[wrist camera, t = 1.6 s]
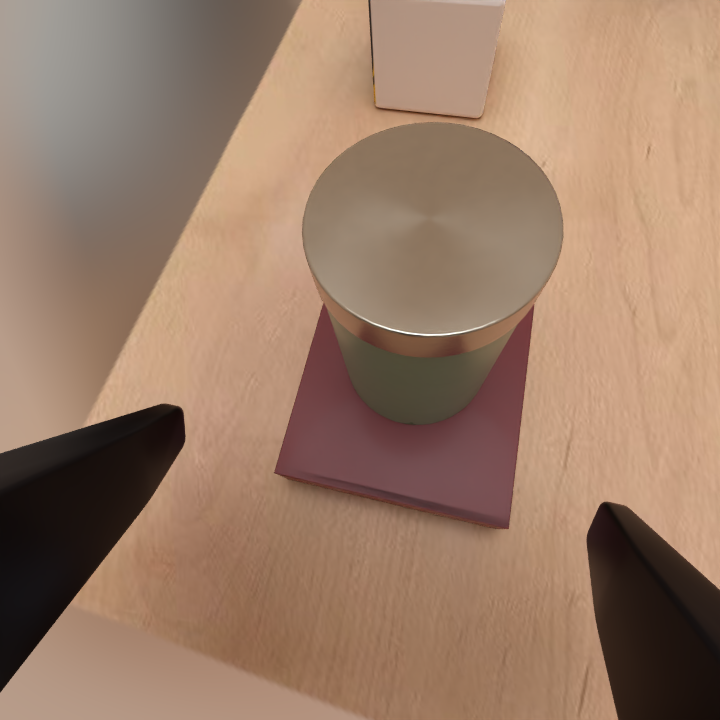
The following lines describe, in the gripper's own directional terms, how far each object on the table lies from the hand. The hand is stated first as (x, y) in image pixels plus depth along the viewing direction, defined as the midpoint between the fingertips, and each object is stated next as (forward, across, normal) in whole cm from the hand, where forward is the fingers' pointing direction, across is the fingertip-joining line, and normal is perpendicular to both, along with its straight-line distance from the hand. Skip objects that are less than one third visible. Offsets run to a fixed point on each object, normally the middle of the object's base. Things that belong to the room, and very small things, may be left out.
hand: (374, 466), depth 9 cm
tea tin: (+11, 0, +2) cm, 12 cm away
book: (+13, 0, +4) cm, 14 cm away
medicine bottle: (+28, +2, -11) cm, 31 cm away
